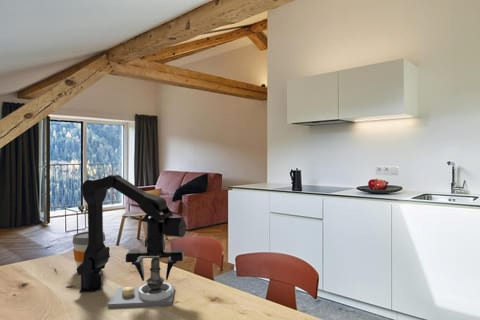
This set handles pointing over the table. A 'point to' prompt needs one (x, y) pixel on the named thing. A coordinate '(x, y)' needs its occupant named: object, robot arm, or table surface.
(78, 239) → the reusable coffee cup
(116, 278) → the table surface
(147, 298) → the socket board
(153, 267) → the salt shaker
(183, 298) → the table surface
